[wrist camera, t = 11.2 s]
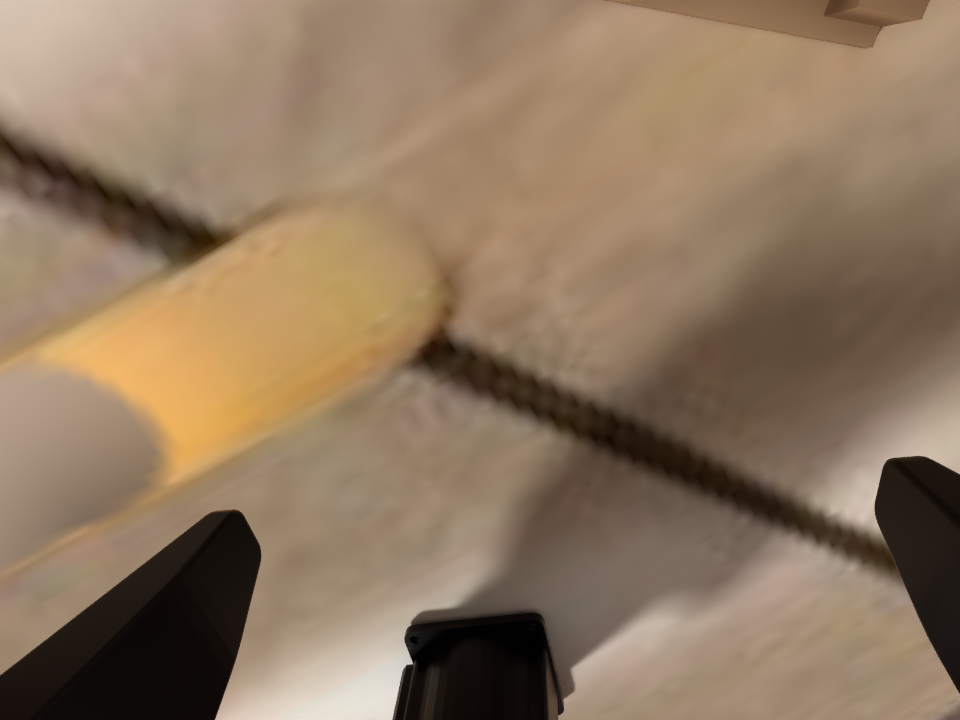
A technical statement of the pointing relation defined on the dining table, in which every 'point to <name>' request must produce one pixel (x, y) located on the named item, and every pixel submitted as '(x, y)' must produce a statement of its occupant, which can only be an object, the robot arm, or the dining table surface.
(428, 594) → the dining table surface
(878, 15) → the brown wooden frame
